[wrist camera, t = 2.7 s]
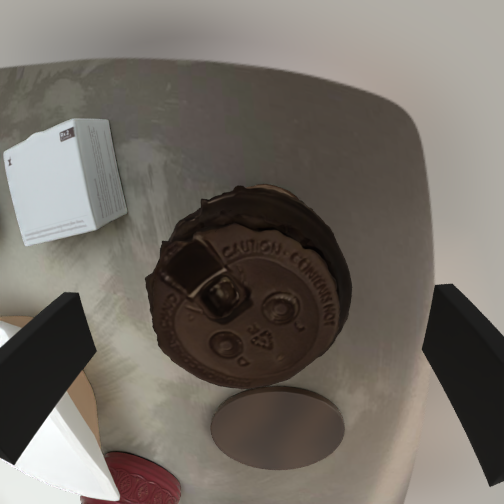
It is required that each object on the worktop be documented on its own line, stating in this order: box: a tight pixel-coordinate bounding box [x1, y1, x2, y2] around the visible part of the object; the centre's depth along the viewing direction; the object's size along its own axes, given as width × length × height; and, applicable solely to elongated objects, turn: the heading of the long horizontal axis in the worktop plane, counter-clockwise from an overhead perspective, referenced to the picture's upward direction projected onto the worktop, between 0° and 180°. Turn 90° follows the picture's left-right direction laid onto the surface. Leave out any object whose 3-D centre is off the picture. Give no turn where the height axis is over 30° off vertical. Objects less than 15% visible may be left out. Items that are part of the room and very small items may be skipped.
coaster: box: [211, 386, 344, 470], centre depth 30 cm, size 14×14×1 cm
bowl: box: [0, 316, 120, 501], centre depth 26 cm, size 24×25×11 cm
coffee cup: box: [145, 184, 352, 389], centre depth 17 cm, size 9×8×13 cm
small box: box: [4, 118, 127, 246], centre depth 21 cm, size 8×8×5 cm
